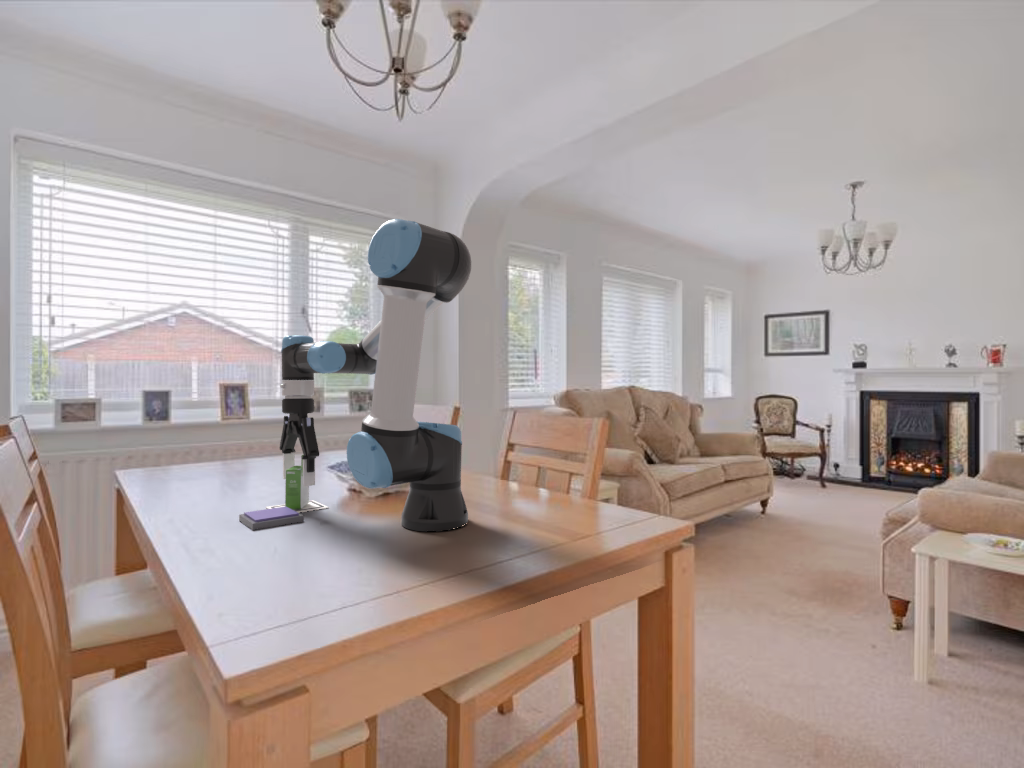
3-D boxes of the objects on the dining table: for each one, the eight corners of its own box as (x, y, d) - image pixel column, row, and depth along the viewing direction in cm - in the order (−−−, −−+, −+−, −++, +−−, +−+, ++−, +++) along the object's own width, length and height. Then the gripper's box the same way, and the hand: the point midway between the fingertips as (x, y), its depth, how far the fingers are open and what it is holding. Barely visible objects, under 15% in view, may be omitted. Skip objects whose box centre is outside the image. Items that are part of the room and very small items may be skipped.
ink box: (293, 503, 140) (294, 451, 140) (309, 503, 141) (309, 451, 140) (284, 510, 133) (285, 455, 133) (301, 509, 134) (301, 455, 133)
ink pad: (303, 521, 124) (303, 513, 124) (252, 530, 117) (252, 521, 117) (288, 513, 132) (288, 505, 132) (239, 520, 125) (239, 512, 125)
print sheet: (328, 508, 137) (328, 506, 137) (279, 516, 129) (279, 514, 129) (313, 501, 145) (313, 499, 145) (265, 508, 137) (266, 506, 137)
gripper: (266, 397, 143) (266, 477, 143) (301, 398, 125) (302, 491, 125) (295, 396, 148) (295, 474, 148) (333, 397, 130) (333, 486, 130)
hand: (298, 482), depth 136 cm, fingers open, 13 cm apart
